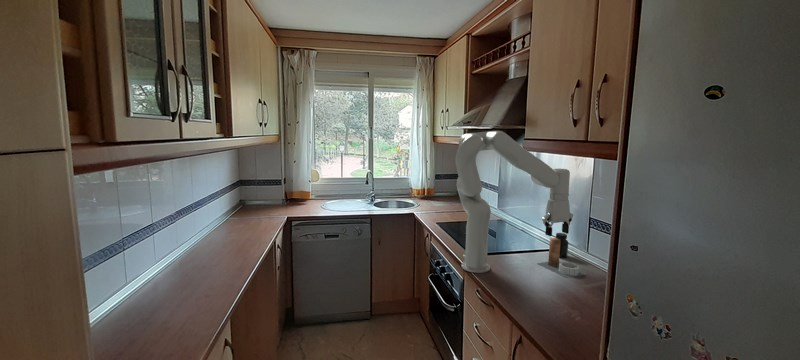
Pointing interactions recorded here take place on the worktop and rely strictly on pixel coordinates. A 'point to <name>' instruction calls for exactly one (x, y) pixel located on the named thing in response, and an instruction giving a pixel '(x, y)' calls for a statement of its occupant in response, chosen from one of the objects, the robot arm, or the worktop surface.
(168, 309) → the worktop surface
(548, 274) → the worktop surface
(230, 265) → the worktop surface
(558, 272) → the bracket board
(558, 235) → the supplement bottle
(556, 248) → the rail post
